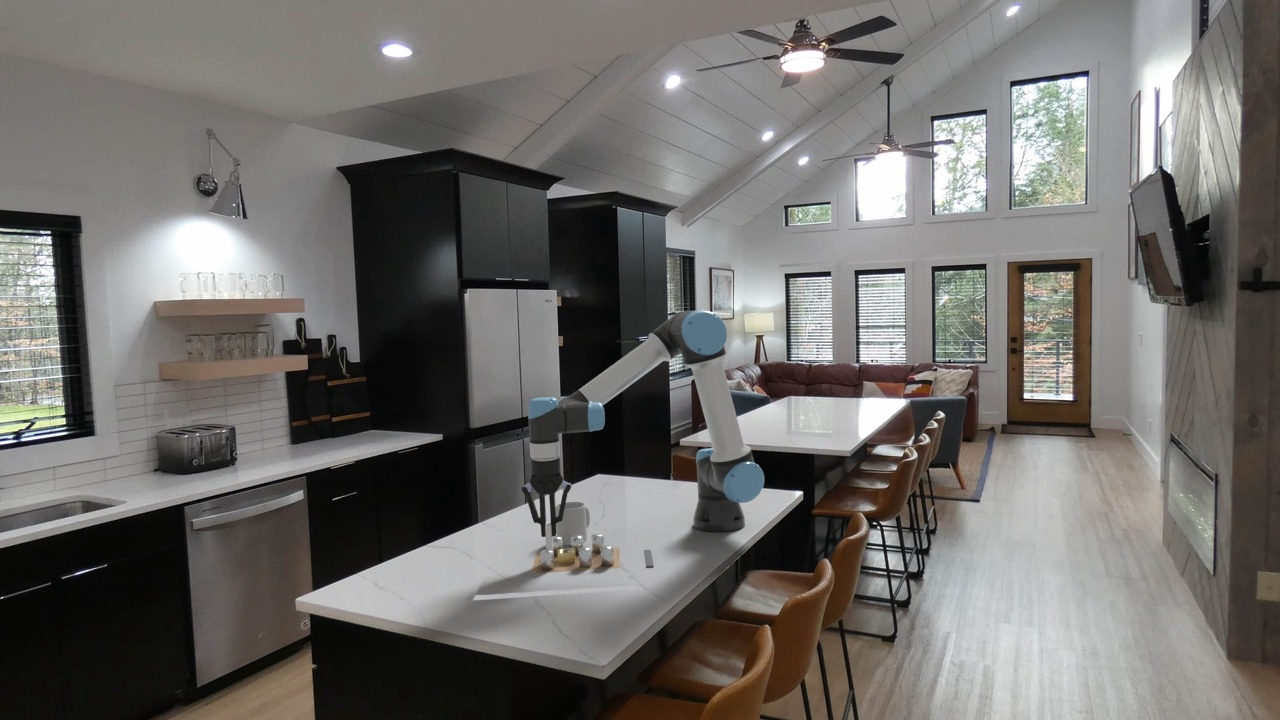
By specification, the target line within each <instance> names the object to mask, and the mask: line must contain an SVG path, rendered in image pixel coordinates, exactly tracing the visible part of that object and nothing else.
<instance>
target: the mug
mask: <svg viewBox="0 0 1280 720" xmlns="http://www.w3.org/2000/svg"><path fill="white" fill-rule="evenodd" d="M560 505H561V503H559V504H557V505H556V504H555V508H556V517H557V516H558V515H559V510H560ZM590 521H591V515H590V511H589V508H588V507H587V506H586V504H585V503H584V502H581V501H569V502H568V501H566V504H565V509H564V514H563V519H562V521H561V522H558V523H556V531H557V533H556V536H561V537H562V544H563V546H571V536H573V535H582V536H583V544H584V543H586V542H588V528H589V525H590Z"/></svg>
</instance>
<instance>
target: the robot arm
mask: <svg viewBox="0 0 1280 720" xmlns="http://www.w3.org/2000/svg"><path fill="white" fill-rule="evenodd" d="M727 337H728V331H727V327H726V325H725V322H724V320H723V319H722V317H720V316H719V315H718V314H716V313H714V312H712V311H707V310H705V309H697V310H686V311H685V310H684V311H680V312H677V313H676V314H674V315H673V316H671V317H669V318H668V319H667V320H666V321H664V322H663V323H662V324H660V325H659V326H658V327H657V328H655V329H654V330H653V331H651V332H650V333H649V334H648V338H647V340H645V341H643V342H642V343H641V344H639V346H636V348H634V349H633V350H631V351H630V352H628V353H627V354H626V355H624V356H622V357H621V358H620V359H619V360H617V361H616V362H615V363H614V364H612V365H610V366H609V367H607V368H606V369H605V370H604V371H602V372H601V373H599V374H598V375H597V376H595V377H594V378H593V379H591V380H590V381H588V382H587V383H586V384H585V385H583V386H582V387H581V388H579V389H578V390H576V391H574V392H573V393H572V394H571V395H569V396H565V397H563V398H561V399H559V400H558V399H557V398H556V397H552V396H550V397H549V396H547V397H541V396H540V397H536V398H532V399H530V400H529V401H528V410H527V411H528V412H527V413H528V416H527V419H528V433H529V434H528V435H529V452H530V453H529V456H530V458H531V460H530V475H531V476H530V478H529V481H528V483H526V484H524V485H522V487H521V491H522V493H523V494H524V496H525V498H526V501H527V503H528V508H529V511H530V515H531V518H532V521H533V523H534V524H539V525H540V535H541V538H545V548H546V549H553V537H554V536H557V527H556V523H558V522H561V521H562V519H563V514H564V509H565V504H566V502H567V499H568V494H569V492H570V490H571V489H572V483H571V482H567V481H566V480H564V477H563V476H562V471H561V467H562V466H561V458H560V456H561V452H560V451H561V449H560V434H571V433H573V434H574V433H584V432H588V433H589V432H590V433H593V432H594V431H600V430H603V429H604V426H605V421H606V416H605V415H606V413H605V408H604V405H605V404H607V403H608V402H610V401H611V400H612V399H613V398H615V397H616V396H618V395H619V394H620V393H622V392H624V391H625V390H626V389H627V388H629V387H630V386H631V385H633V384H634V383H635V382H636V381H639V379H641V378H643V377H644V376H645V375H646V374H648V373H649V372H651V371H652V370H653V369H655V368H656V367H658V366H659V365H660V364H661V363H662V362H670V361H671V360H673V359H674V358H675V357H678V356H680V355H681V356H682V360H683V363H684V365H685V367H688V368H689V369H691V372H692V375H693V379H694V382H695V386H696V390H697V394H698V397H699V401H700V406H701V409H702V413H703V416H704V419H705V420H704V421H705V423H706V428H707V432H708V435H709V439H710V443H711V447H710V448H709V447H708V448H702V449H699V450H698V451H697V452H696V456H695V457H696V460H695V464H696V477H697V478H696V480H697V494H698V495H697V496H698V497H697V499H698V500H697V504H696V508H695V512H694V514H693V519H692V520H693V527H694V528H696V529H697V530H700V531H706V532H715V533H716V532H720V533H722V532H730V531H735V530H739V529H741V528H744V526H745V525H746V524H745V523H746V520H745V519H746V518H745V515H744V512H743V509H742V507H741V504H745V503H750V502H751V501H753V500H754V499H756V498H757V497H758V496H759V495H760V493H761V491H762V490H763V488H764V485H765V474H764V471H763V469H762V468H761V467H760V465H759V464H757V463H755V461H754V457H753V452H752V448H751V446H748V445H746V444H745V443H744V440H743V436H742V433H741V429H740V425H739V421H738V417H737V412H736V408H735V405H734V402H733V398H732V395H731V391H730V386H729V382H728V379H727V375H726V370H725V367H724V362H723V360H724V359H725V357H726V355H727V352H726V348H725V343H726V341H727ZM560 487H561V490H562V495H561V500H560V504H561V505H560V510H559V515H558V516H557V517H556V508H555V507H556V493H557V492H558V490H559V489H560ZM532 490H535V492H536V493H537V494H538V499H539V514H538V510H537V507H536V504H535V500H534V496H533V494H532ZM546 495H548V496H549V497H548V498H549V512H550V513H549V514H550V518H549V519H550V522H547V513H546V509H547V508H546Z"/></svg>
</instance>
